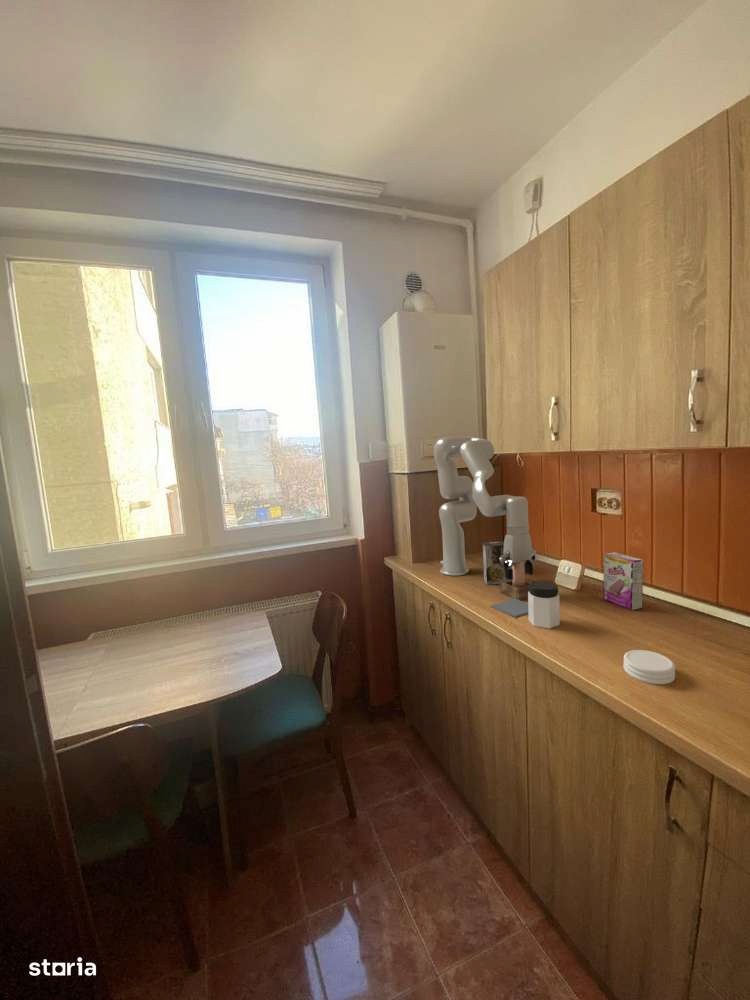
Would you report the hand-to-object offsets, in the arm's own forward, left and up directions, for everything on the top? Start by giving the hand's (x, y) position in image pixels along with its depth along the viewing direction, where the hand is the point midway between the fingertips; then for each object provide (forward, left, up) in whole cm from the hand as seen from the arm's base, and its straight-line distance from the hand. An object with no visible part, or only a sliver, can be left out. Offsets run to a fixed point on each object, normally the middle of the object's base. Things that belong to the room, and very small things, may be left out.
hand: (519, 576), depth 148 cm
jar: (+22, -12, -7) cm, 26 cm away
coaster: (+54, -14, -7) cm, 56 cm away
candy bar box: (+26, +20, -7) cm, 33 cm away
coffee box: (-15, +3, -7) cm, 17 cm away
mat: (+9, -11, -7) cm, 16 cm away
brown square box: (0, 0, -7) cm, 7 cm away
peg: (0, 0, -7) cm, 7 cm away
